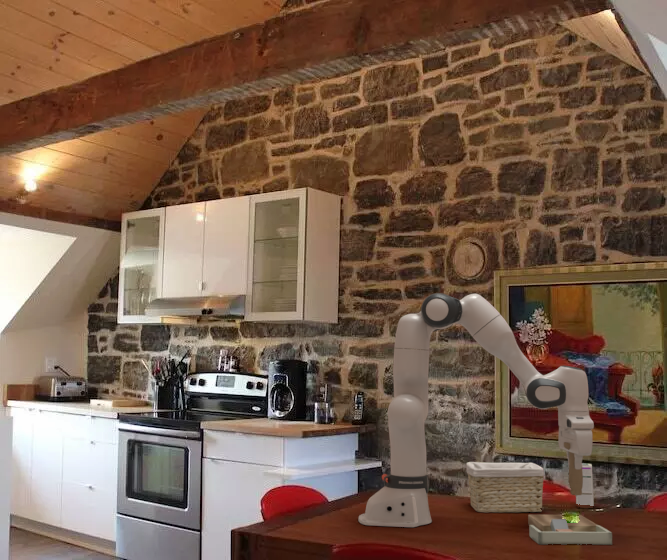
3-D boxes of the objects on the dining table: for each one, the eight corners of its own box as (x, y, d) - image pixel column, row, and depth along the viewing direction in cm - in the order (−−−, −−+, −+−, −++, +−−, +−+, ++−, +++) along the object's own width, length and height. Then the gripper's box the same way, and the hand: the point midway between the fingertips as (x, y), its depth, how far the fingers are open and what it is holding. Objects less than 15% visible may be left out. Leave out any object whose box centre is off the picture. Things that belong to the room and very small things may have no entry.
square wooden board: (543, 536, 225) (543, 525, 226) (528, 524, 241) (528, 514, 242) (599, 536, 226) (599, 525, 226) (580, 524, 242) (580, 514, 242)
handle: (588, 496, 231) (587, 444, 233) (565, 495, 233) (564, 443, 234) (586, 493, 236) (585, 442, 238) (564, 493, 237) (563, 442, 239)
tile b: (553, 536, 223) (555, 531, 221) (550, 524, 226) (551, 519, 224) (567, 536, 223) (569, 531, 221) (564, 524, 226) (565, 519, 224)
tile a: (555, 528, 221) (555, 538, 221) (560, 532, 217) (560, 541, 217) (569, 528, 221) (569, 538, 221) (574, 532, 217) (574, 541, 217)
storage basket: (472, 513, 259) (472, 467, 260) (465, 504, 275) (464, 461, 276) (546, 514, 259) (545, 468, 260) (534, 505, 275) (533, 461, 276)
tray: (539, 544, 215) (538, 532, 216) (529, 536, 225) (529, 524, 225) (612, 544, 216) (611, 532, 216) (599, 536, 225) (599, 525, 226)
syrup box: (594, 509, 267) (593, 465, 268) (575, 508, 269) (574, 464, 270) (593, 506, 272) (592, 463, 274) (575, 505, 274) (574, 462, 276)
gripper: (552, 418, 247) (553, 463, 246) (574, 423, 227) (575, 472, 225) (573, 418, 247) (574, 463, 246) (596, 423, 227) (597, 472, 225)
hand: (574, 467), depth 235 cm, fingers closed on handle, 4 cm apart
